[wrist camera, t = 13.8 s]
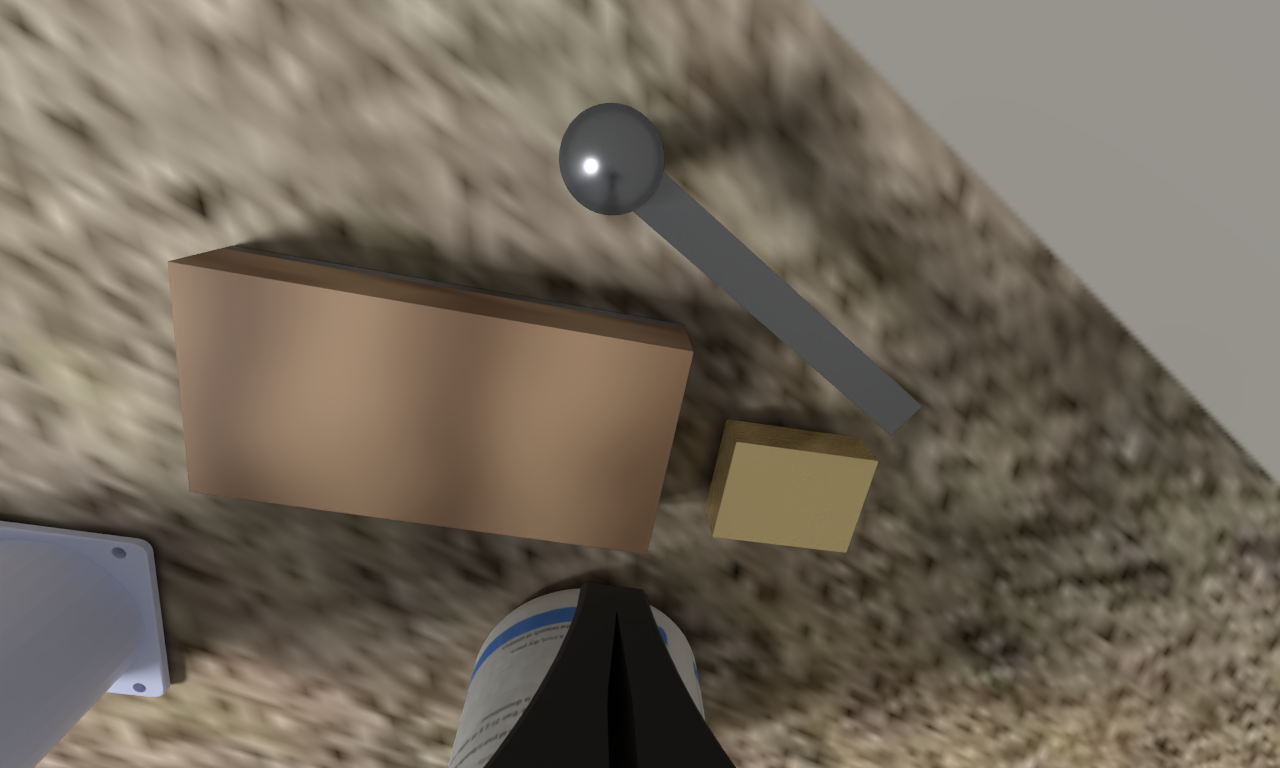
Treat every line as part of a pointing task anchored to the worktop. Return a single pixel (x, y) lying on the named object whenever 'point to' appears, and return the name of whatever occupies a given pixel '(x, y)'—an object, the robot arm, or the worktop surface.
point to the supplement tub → (534, 671)
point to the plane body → (423, 399)
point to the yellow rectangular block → (788, 486)
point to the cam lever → (714, 250)
